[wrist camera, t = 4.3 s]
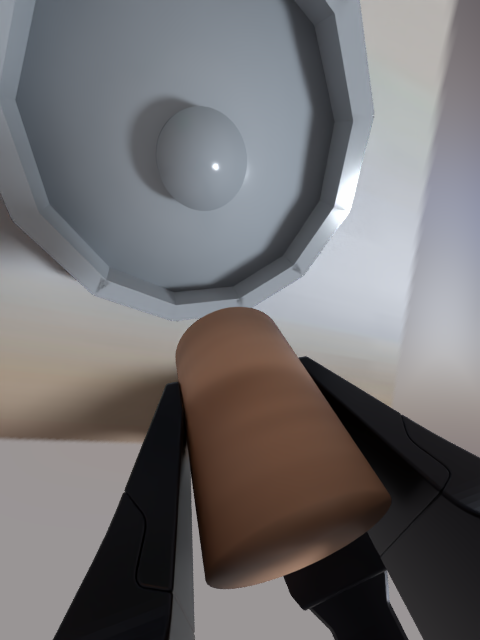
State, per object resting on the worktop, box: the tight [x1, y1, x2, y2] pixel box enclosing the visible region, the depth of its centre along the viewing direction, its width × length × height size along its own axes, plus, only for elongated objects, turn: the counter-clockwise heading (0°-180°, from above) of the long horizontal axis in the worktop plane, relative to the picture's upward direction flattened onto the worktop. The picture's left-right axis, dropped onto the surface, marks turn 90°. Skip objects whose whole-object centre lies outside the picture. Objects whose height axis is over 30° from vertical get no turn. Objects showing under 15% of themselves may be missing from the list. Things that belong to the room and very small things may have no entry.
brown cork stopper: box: [176, 307, 392, 589], centre depth 8 cm, size 4×4×6 cm
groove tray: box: [0, 0, 374, 321], centre depth 15 cm, size 18×18×2 cm
